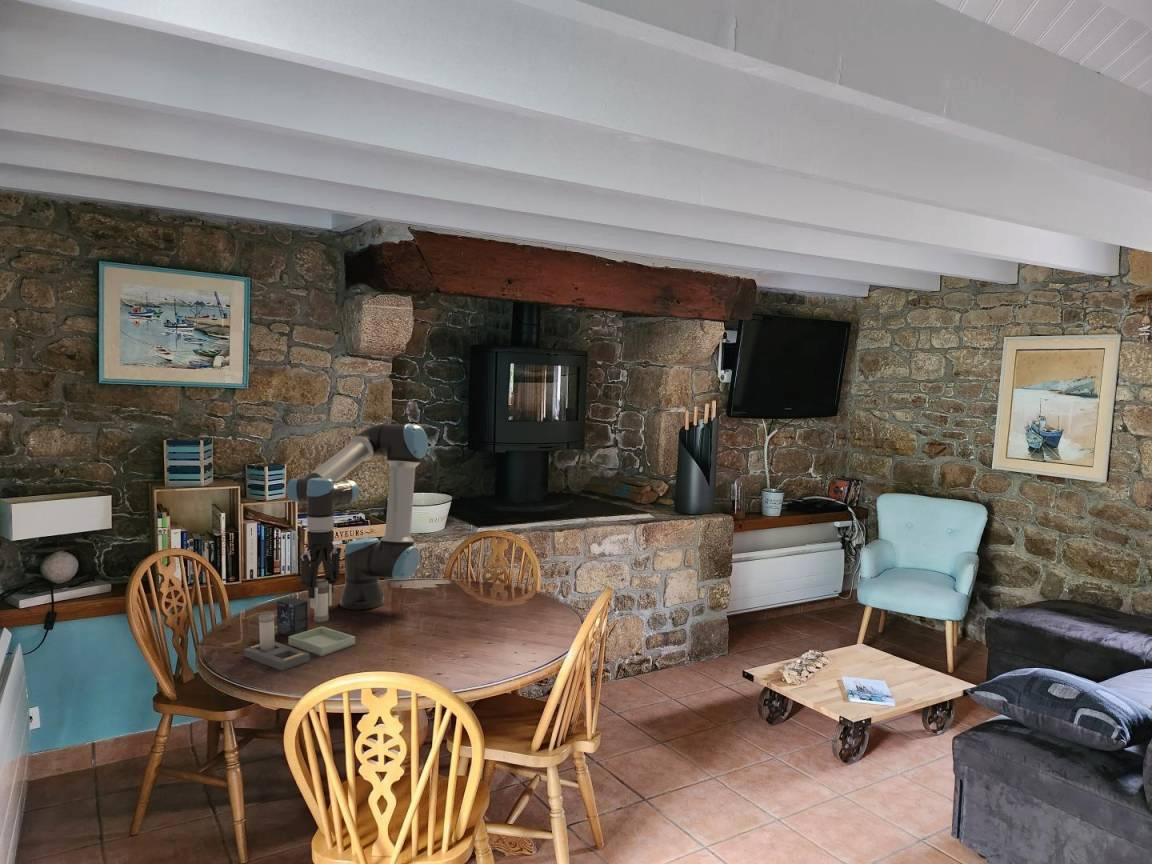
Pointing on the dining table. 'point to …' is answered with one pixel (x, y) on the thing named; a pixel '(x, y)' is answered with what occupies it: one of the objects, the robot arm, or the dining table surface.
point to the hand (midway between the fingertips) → (321, 606)
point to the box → (292, 616)
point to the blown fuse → (322, 601)
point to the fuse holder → (278, 656)
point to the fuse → (266, 632)
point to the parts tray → (321, 641)
